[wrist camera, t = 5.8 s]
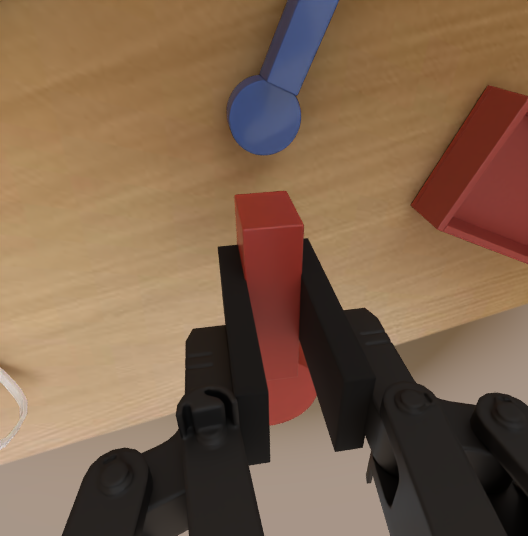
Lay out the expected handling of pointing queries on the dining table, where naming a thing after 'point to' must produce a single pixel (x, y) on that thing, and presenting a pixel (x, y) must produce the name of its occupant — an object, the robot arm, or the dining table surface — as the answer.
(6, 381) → the cup
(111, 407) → the dining table surface
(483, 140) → the red bin
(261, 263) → the red spoon
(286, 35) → the blue spoon
